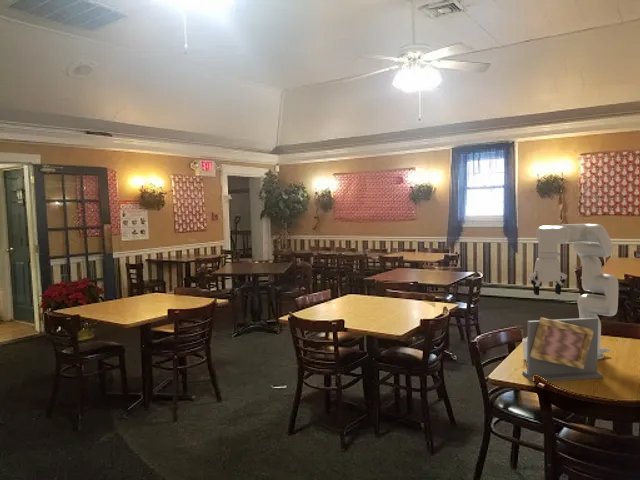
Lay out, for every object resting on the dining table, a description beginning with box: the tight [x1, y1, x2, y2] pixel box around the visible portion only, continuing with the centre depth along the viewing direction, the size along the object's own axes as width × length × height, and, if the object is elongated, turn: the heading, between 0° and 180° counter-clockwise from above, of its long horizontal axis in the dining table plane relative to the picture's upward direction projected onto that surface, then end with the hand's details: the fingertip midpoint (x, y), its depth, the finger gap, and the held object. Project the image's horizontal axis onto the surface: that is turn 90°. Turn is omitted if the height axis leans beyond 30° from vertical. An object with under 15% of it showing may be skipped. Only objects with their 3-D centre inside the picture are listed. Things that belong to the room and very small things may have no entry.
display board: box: [522, 317, 604, 382], centre depth 222 cm, size 32×10×26 cm, turn 95°
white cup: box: [522, 337, 527, 362], centre depth 246 cm, size 8×8×10 cm
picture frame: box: [530, 317, 594, 369], centre depth 218 cm, size 24×3×18 cm, turn 95°
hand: (547, 294), depth 217 cm, fingers open, 9 cm apart
